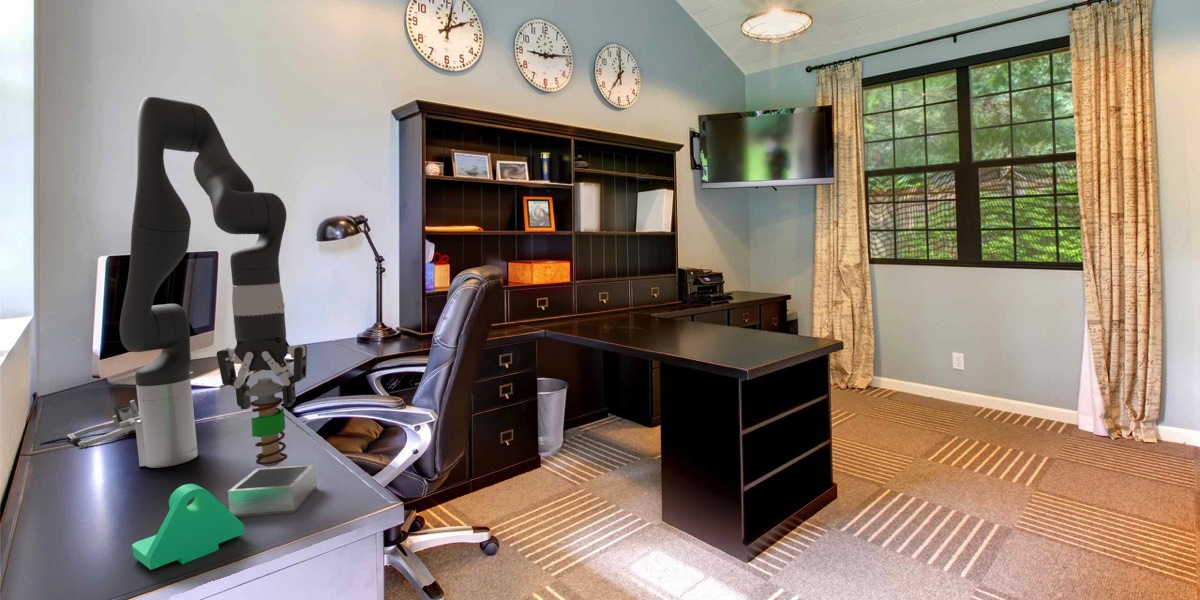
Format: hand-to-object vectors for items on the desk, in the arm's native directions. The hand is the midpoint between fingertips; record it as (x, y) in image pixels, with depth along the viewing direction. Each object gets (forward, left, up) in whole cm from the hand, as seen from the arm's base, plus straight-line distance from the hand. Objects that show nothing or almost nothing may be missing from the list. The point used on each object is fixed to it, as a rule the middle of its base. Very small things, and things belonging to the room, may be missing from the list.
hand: (267, 406), depth 103 cm
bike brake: (-60, +46, -18) cm, 77 cm away
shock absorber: (0, 0, -10) cm, 10 cm away
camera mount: (-6, -15, -17) cm, 24 cm away
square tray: (0, 0, -17) cm, 17 cm away
